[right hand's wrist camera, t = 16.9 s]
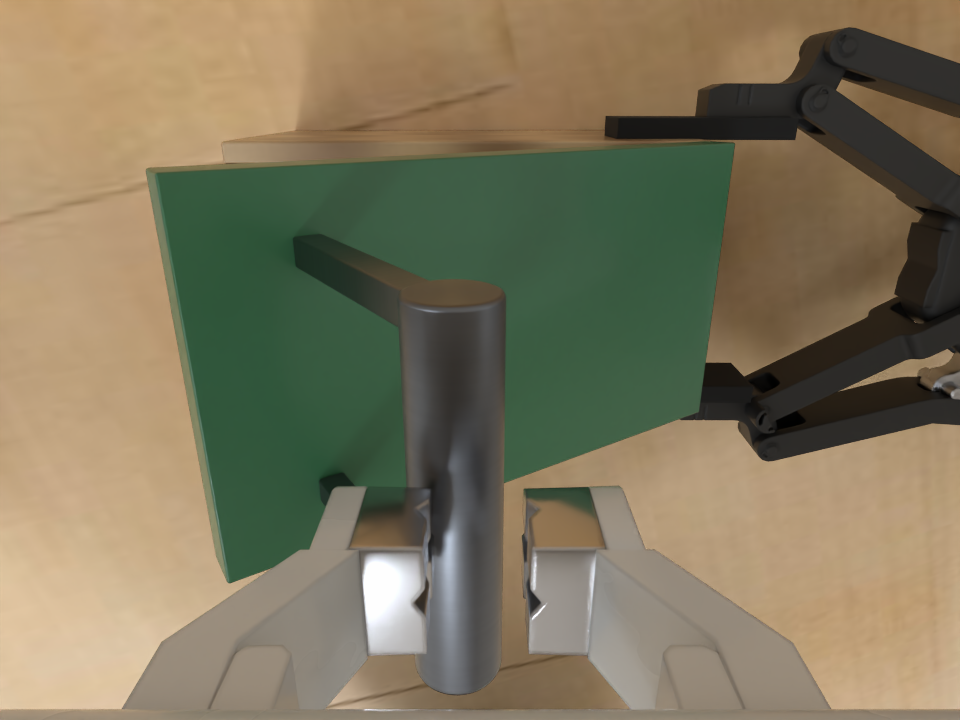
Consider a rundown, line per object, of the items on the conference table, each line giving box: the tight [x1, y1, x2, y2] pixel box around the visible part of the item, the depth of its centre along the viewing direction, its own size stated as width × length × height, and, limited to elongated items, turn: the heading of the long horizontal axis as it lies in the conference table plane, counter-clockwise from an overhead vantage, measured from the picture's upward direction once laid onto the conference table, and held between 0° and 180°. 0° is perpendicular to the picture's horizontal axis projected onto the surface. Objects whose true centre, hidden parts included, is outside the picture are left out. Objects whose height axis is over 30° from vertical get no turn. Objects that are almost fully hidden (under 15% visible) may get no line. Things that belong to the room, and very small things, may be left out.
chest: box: [221, 130, 712, 164], centre depth 29 cm, size 17×10×10 cm, turn 90°
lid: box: [146, 141, 735, 695], centre depth 17 cm, size 18×10×8 cm
